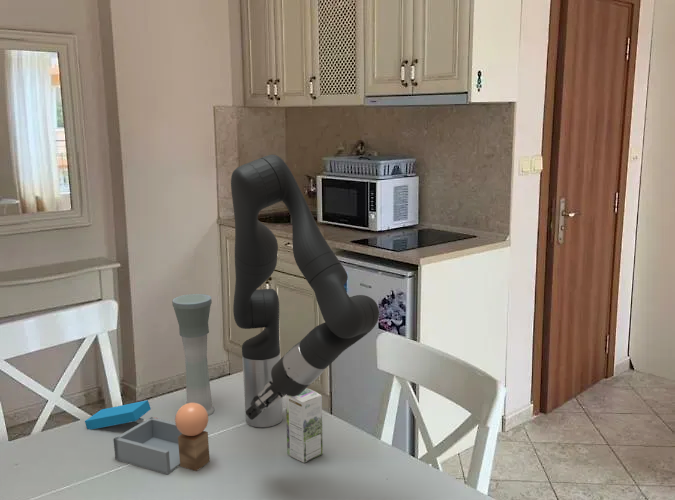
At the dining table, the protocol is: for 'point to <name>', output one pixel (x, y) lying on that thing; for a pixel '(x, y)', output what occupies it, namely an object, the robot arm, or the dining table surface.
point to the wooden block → (194, 450)
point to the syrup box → (304, 425)
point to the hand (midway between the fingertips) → (250, 415)
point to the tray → (150, 445)
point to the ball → (191, 419)
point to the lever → (118, 415)
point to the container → (195, 346)
